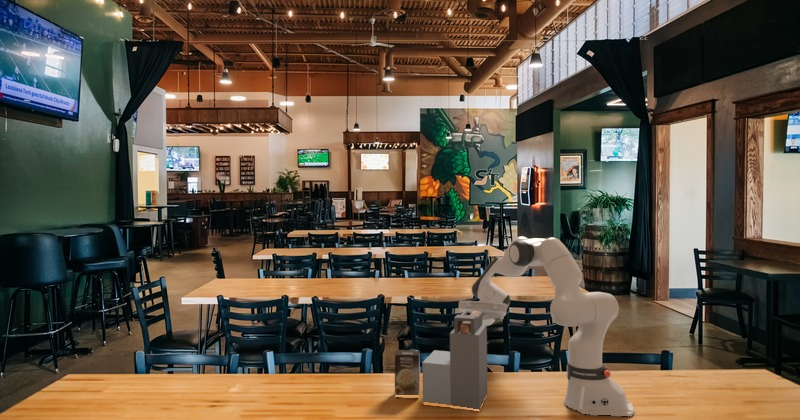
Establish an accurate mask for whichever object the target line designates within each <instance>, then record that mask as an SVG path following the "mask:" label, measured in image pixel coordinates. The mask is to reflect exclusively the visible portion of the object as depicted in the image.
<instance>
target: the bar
mask: <svg viewBox="0 0 800 420" xmlns="http://www.w3.org/2000/svg"><path fill="white" fill-rule="evenodd" d="M479 312H481V311H473V312H472V313H470V314H469V315H472V316H476V315H477V314H478V313H479ZM470 332H471V328H470V321H463V322H462V323H461V324H460V333H464V334H469V333H470Z"/></svg>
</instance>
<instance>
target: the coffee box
mask: <svg viewBox="0 0 800 420" xmlns="http://www.w3.org/2000/svg"><path fill="white" fill-rule="evenodd" d="M420 359H421V357H420V350H407V349H406V350H405V349H396V350H395V351H394V396H395V395H419V396H420V394H419V390H420V389H421V388H420V387H421V386H420V384H421V383H420V382H421V381H420V378H421V377H420V370H421V367H420V365H421V364H420V363H421V360H420Z"/></svg>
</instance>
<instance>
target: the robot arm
mask: <svg viewBox="0 0 800 420" xmlns="http://www.w3.org/2000/svg"><path fill="white" fill-rule="evenodd" d="M510 242H511V243H510V244H509V246H508V247H507V249H506V250H505V252H504V254H503V255H502V256H496V257H495V258H493V260H492V261H491V262H489V264H488V265H487V266H486V268H485V269H484V271H483V272H482V273H481V274H480V276H479V277H478V278H477V279H476V280H475V281H474V283H473V284H472V286H471V293H472V295H473V297H475V298H477V299H479V300H478V301H475V300H473V301H472V300H459V301H458V309H459V311H460V312H462V313H463V312H464V311H467V313H470V314H471V313H472V312H473V311H481V312H482V325H487V327H488V326H490V325H492V324H494V322H495V321H496V320H504V317H505V316H507V310H508V308H509V307H510V304H511V296H510V294H509V293H508V292H506V291H505V290H504V289H502V288H500V287H499V286H498V285H496V284H495V283H494V282H493V281H492V280H491V278H492V277H493V276H494V274H499V275H502V276H504V277H507V278H519V277H521V276H522V275H524V274H525V272H526V271H527V270H528V268H529V267H543V268H544V271H545V272H546V274H547V276H548V278H549V279H550V282H551V284H552V286H553V290H554V298H553V300H552V301H551V304H550V306H549V308H550V310H549V313H550V316H551V318H552V320H553V321H554V322H555V324H557V325H559V326H563V327H572V328H574V327H578V328H577V330H576V332H575V333H574V334H573V335H572V336H571V337H570V339H569V340H568V347H567V348H568V353H567V354H568V356H567V357H568V362H567V364H566V377H567V387H566V393H565V396H564V399H563V404H564V405H565V406H566V407H567V406H568V407H567V408H569V409H571V408H572V409H571V410H574V411H576V410H577V411H576V412H578V413H580V412H581V414H582V413H583V414H582V415H584V414H587V415H586V416H598V415H611V416H610V417H621V416H628V418H629V416H630V417H632V416H633V415H634V413H635V408H634V405H633V404H632V402H630V400H627V396H626V395H627V394H626V392H625V390H624V388H623V387H622V386H621V385H620V384H618V383H617V382H615V380H613V379H612V378H611V371H610V370H609V367H608V366H607V365H604V364H603V346H604V340H605V336H606V333H607V331H608V329H609V327H610V325H611V323H612V322H613V321H614V320H615V319H616V318H617V317H618V315H619V311H620V307H619V302H618V300H617V298H616V297H615V296H614V295H613V294H611V293H608V292H602V291H590V292H589V291H588V292H583V291H581V290H580V287H579V285H580V284H582V281H583V277H584V274H583V272H582V270H581V269H580V266H579V265H578V263H577V262H576V260H575V258H574V257H573V255H572V254H571V252H570V251H569V249H568V248H567V247H566V245H565V244H564V243H563V242H562V241H561V240H560V239H559V238H556V237H547V238H537V237H535V238H534V237H533V238H528V237H526V236H517V237H515V238H514V239H513V240H512V241H510ZM588 414H590V415H588Z"/></svg>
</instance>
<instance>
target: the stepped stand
mask: <svg viewBox="0 0 800 420" xmlns="http://www.w3.org/2000/svg"><path fill="white" fill-rule="evenodd" d="M453 321H454V322H453V324H454V326H453V327H454V328H453V329H452V330H451V331H450V333H449V351H447V350H437V349H435V350H433V351H432V352H431V353H430V354H429V355H428V356H427V357H426V358H425V359H424V360H423V361H422V368H421V371H422V375H421V376H422V403H423V402H429V403H438V404H446V405H453V406H460V407H467V408H473V409H479V410H480V407H481V405H482V403H483V401H484V399H485V397H486V395H487V396H488V343H487V342H488V340H487V339H488V334H487V333H488V332H487V331H488V330H487V329H488V328H487V327H488V326H487V325H483V324H482V312H479V313H478V314H477V315H476V316H472V315H470V314H469V315H468V312H467V311H464V312H463V311H462V312H461V313H460V314H456V315H455V316H454V319H453ZM463 321H470V328H471V332H470V333H469V334H464V333H460V324H461V323H462V322H463ZM486 398H487V397H486ZM485 400H486V399H485ZM484 402H485V401H484ZM480 411H481V410H480Z"/></svg>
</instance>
